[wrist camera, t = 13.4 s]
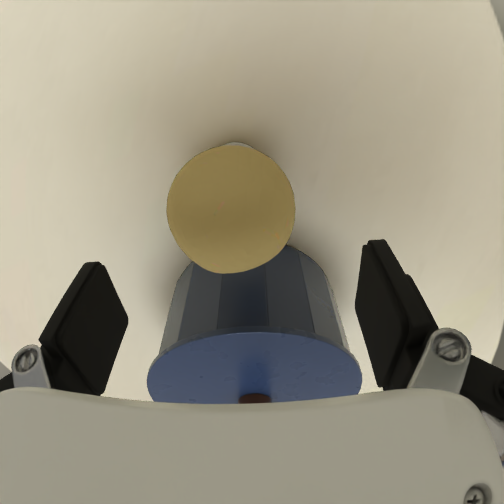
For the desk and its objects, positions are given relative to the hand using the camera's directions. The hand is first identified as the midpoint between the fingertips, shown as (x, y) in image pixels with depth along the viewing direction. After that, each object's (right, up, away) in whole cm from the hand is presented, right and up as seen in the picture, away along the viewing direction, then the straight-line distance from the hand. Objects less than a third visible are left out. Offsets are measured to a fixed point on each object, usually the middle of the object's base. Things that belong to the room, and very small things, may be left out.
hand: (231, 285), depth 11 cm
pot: (+1, -4, +18) cm, 19 cm away
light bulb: (0, +7, +11) cm, 13 cm away
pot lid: (+1, -9, +10) cm, 14 cm away
